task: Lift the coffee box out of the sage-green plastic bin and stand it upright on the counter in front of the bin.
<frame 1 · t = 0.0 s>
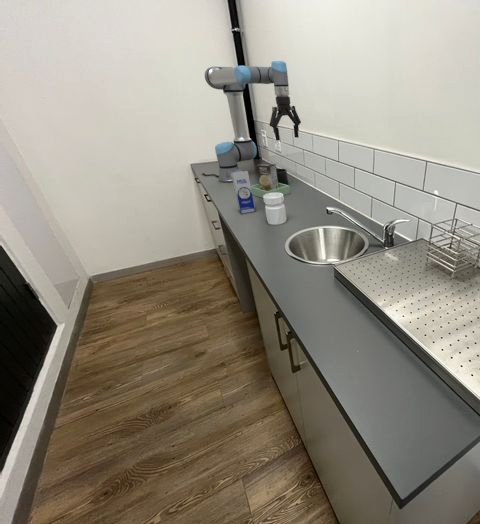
hand: (287, 138, 167), 28 cm above the table, tool pointing down, fingers open, 13 cm apart
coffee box: (270, 193, 171), resting on bin
mug: (280, 184, 188), on the table
bin: (270, 193, 171), on the table
white pill bottle: (277, 221, 134), on the table
milk carton: (247, 211, 147), on the table
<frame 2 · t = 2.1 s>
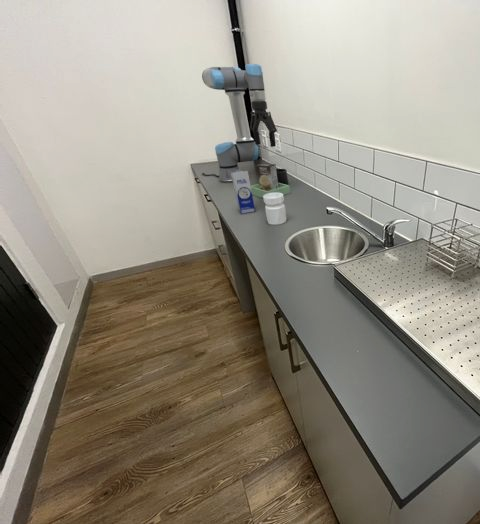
hand: (265, 145, 159), 26 cm above the table, tool pointing down, fingers open, 13 cm apart
nothing on the table moved.
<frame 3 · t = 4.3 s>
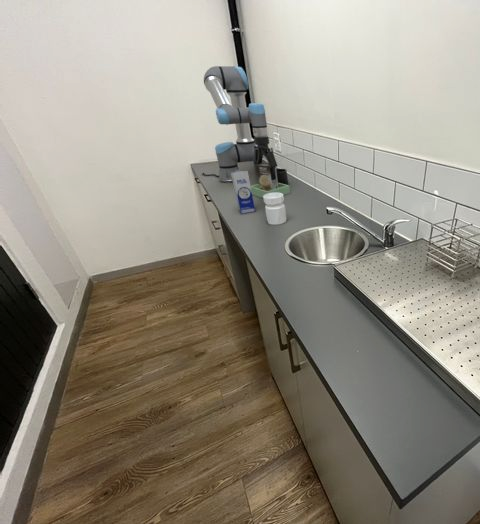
hand: (267, 178, 167), 9 cm above the table, tool pointing down, fingers closed on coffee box, 10 cm apart
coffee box: (270, 193, 171), resting on bin, touching gripper
everything else where it was.
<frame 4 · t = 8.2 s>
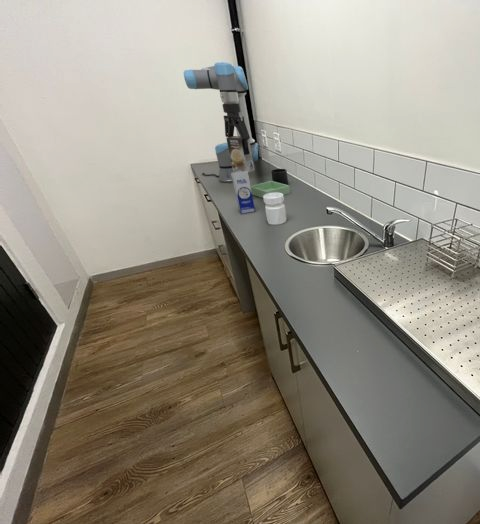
hand: (240, 153, 146), 25 cm above the table, tool pointing down, fingers closed on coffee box, 10 cm apart
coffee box: (244, 171, 150), point 16 cm above the table, touching gripper
everything else where it was.
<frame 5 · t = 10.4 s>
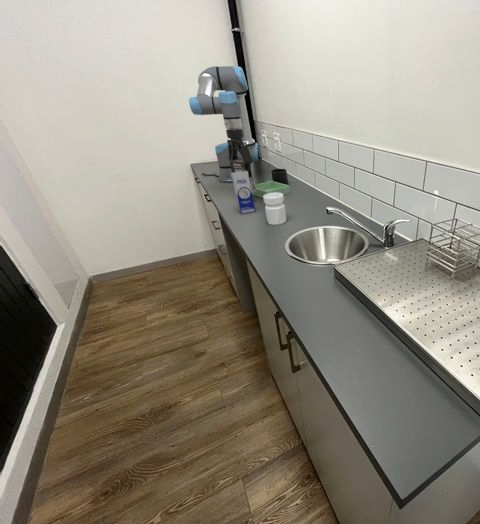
hand: (243, 175, 151), 14 cm above the table, tool pointing down, fingers closed on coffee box, 10 cm apart
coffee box: (246, 192, 155), point 6 cm above the table, touching gripper
everything else where it was.
when the fingers open (8 cm above the table, at t = 12.3 s): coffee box stays where it is, on the table.
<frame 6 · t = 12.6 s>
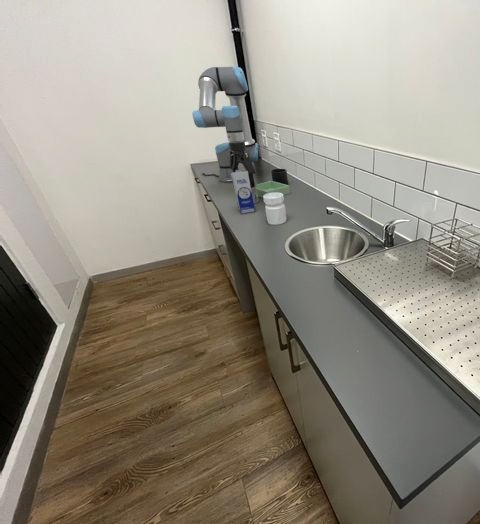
hand: (245, 185, 153), 9 cm above the table, tool pointing down, fingers open, 13 cm apart
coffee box: (248, 202, 158), on the table
everything else where it was.
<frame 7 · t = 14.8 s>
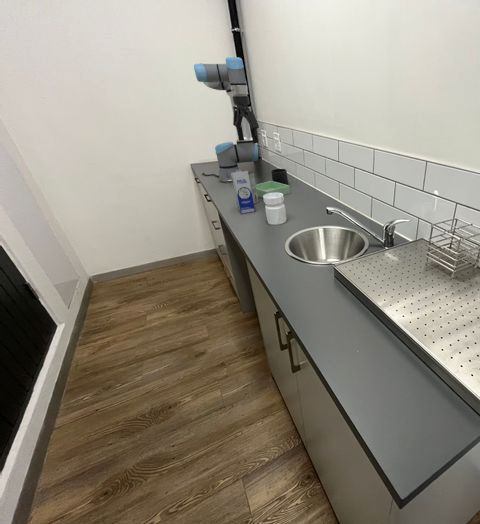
hand: (248, 141, 155), 29 cm above the table, tool pointing down, fingers open, 13 cm apart
nothing on the table moved.
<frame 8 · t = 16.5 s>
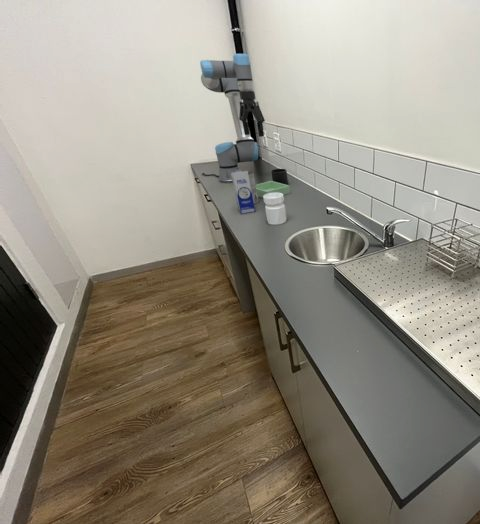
hand: (254, 135, 161), 31 cm above the table, tool pointing down, fingers open, 13 cm apart
nothing on the table moved.
at the end: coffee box inside the target area (0.0 cm from its centre), on the table; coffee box tilted 0°; the gripper is holding nothing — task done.
